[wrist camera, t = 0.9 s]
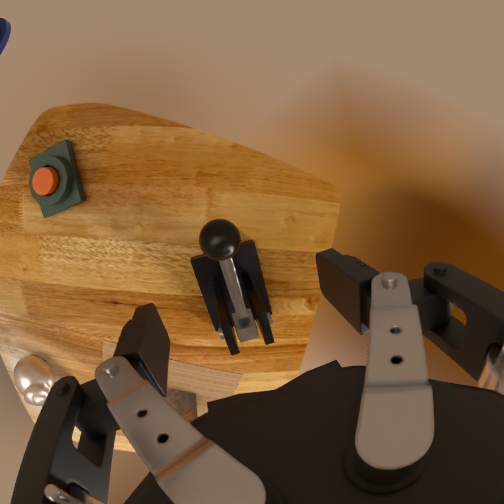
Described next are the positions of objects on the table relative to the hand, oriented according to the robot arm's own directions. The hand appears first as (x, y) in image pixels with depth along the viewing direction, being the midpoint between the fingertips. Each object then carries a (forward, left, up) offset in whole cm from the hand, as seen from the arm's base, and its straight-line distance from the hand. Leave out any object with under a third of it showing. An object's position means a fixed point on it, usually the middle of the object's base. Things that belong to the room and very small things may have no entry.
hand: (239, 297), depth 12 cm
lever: (+5, 0, -14) cm, 15 cm away
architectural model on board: (+29, -18, -27) cm, 43 cm away
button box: (-11, -20, -27) cm, 35 cm away
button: (-11, -20, -23) cm, 33 cm away
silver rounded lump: (+18, -41, -27) cm, 52 cm away
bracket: (+12, 0, -27) cm, 29 cm away
